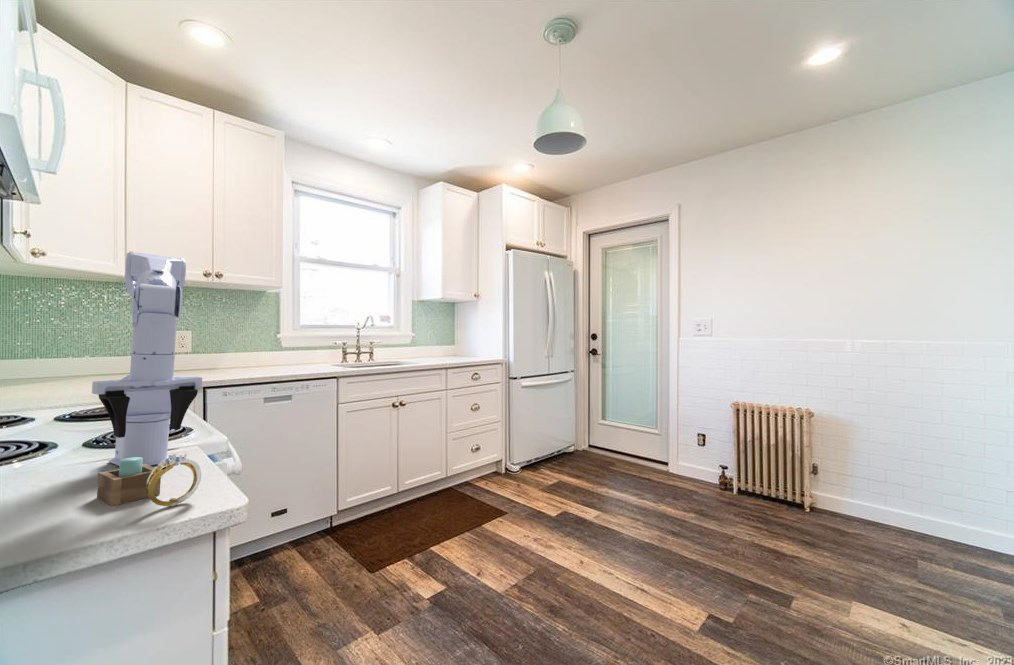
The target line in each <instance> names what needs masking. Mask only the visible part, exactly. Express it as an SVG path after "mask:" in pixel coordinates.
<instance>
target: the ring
mask: <svg viewBox="0 0 1014 665" xmlns="http://www.w3.org/2000/svg"><path fill="white" fill-rule="evenodd" d="M187 454H188V453H187ZM187 454H186V453H184V454H180V455H179V456H177V455H178V454H177V453H173V454H170V455H168V456H169V458H168V459H162V462H161V463H159V464H156V466H154V469H153V470H152V472H151V473H150V475H149V477H148V480H147V483H146V493H147V496H148V497H147V498H148V499H149V500H150V501H151V502H152V503H154V504H155V505H158V506H160V507H177V506H178V505H179V504H181V503H183V502H185V501H187V500H188V499H189V498H191V497H192V495H193V494H195V492H196V491H197V489H198V488H199V485H200V484H201V481H202V470H201V467H200V465H199V464H198V462H196V461H195V460H193V459H189V458H187V456H188V455H187ZM178 465H183V466H186V467H188V468H189V469H190V471H191V472H192V475H193V482H192V484H191V486H190V488H189V489H188V490H187V491H185V492H186V493H184V494H183V495H181V496H179V497H177V498H176V497H173V498H170V499H169V500H160V499H159V498H157V497H156V496H157V495H155V494H154V487H155V484H156V482H157V481H158V479H159V478H160V477H161V478H162V476H164V474H166V473H167V472H169V471H170V470H172V469H173V468H174V467H176V466H178Z"/></svg>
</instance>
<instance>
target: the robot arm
mask: <svg viewBox="0 0 1014 665" xmlns="http://www.w3.org/2000/svg"><path fill="white" fill-rule="evenodd" d="M186 269H187V261H186V259H184V258H183V257H180V258H179V257H171V256H164V255H159V254H158V255H156V254H150V253H141V252H134V251H131V250H130V251H129V252H127V253H126V258H125V272H124V273H125V274H124V276H125V289H126V290H127V291H126V293H127V294H128V295H130V296H131V303H130V305H131V307H130V311H131V317H132V322H131V323H132V325H131V326H132V328H133V329H132V341H131V353H130V367H129V368H130V369H129V370H130V372H129V374H128V375H127V376H124V377H123V378H121V379H110V380H95V381H92V386H91V387H92V388H91V394H93V395H98V399H99V400H100V402H101V403H102V405H103V407H104V408H105V410H106V412H107V414H108V416H109V419H110V422H111V425H112V429H113V435H114V436H113V437H115V446H114V447H115V450H114V458H109V459H108V460H107V461H108V462H109V463H111V464H113V465H116V466H118V467H119V465H120V460H122V459H125V458H131V457H142V458H143V462H142V464H147V465H149V466H155V465H156V466H157V465H158V464H159V463H161V462H162V459H168V458H169V456H170V455H168V448H169V434H170V430H171V429H172V430H175V431H177V430H180V429H181V427H182V423H183V421H184V417H185V415H186V413H187V411H188V409H189V407H190V406H191V404H192V402H193V401H194V399H196V397H197V395H198V393H199V391H198V389H201V388H203V377H202V376H174V374H175V357H176V356H175V355H176V344H177V342H176V341H177V328H178V319H179V318H180V315H181V313H182V305H183V304H182V303H183V292H184V284H185V280H186V272H187V270H186Z"/></svg>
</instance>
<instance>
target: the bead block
mask: <svg viewBox="0 0 1014 665" xmlns="http://www.w3.org/2000/svg"><path fill="white" fill-rule="evenodd" d="M154 468H155V466H153V465H151V466H149V465H147V464H142V473H138V474H133V475H128V476H124V477H119V468H117V469H110V470H106V471H100V472H98V474H97V475H98V476H97V477H98V478H97V491H96V498H97V499H99V500H100V501H103V502H104V503H106V504H108V505H109V506H112V507H114V506H118V505H122V504H123V505H124V504H126V503H130V502H134V501H138V500H142V499H147V498H149V497H148V496H147V493H146V483H147V480H148V477H149V475H150V473H151V472H152V470H153V469H154ZM161 480H162V476H161V477H160V478H159V479H158V481H157V482H156V484H155V487H154V494H155V496H157V495H161Z"/></svg>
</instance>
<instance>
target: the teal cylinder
mask: <svg viewBox="0 0 1014 665" xmlns="http://www.w3.org/2000/svg"><path fill="white" fill-rule="evenodd" d="M142 462H143V458H142V457H131V458H125V459H122V460H120V465H119V466H118V467H119V468H118V469H119V477H124V476H128V475H133V474H138V473H142Z"/></svg>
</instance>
